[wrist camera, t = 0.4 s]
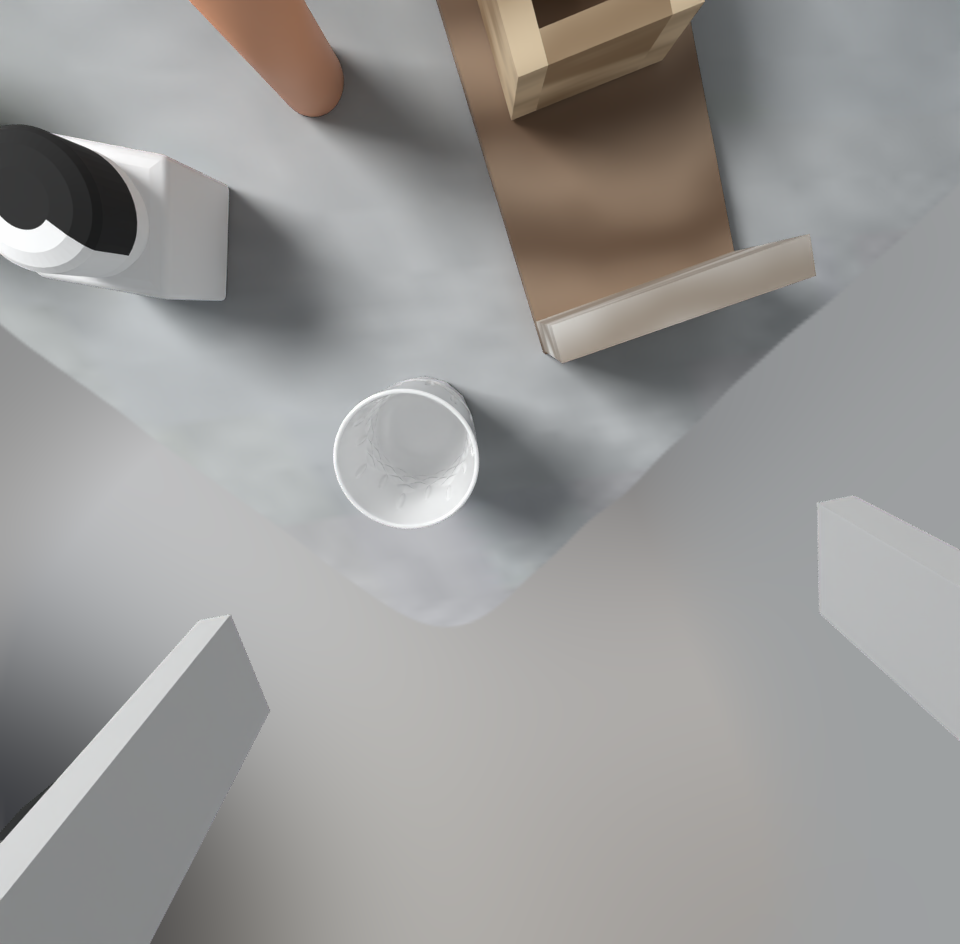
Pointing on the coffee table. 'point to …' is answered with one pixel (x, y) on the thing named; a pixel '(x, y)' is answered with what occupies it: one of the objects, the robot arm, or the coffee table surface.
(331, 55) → the dowel
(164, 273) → the medicine bottle
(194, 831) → the robot arm
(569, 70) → the open wooden box
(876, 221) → the coffee table surface
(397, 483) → the white cup
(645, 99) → the board
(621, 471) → the coffee table surface
